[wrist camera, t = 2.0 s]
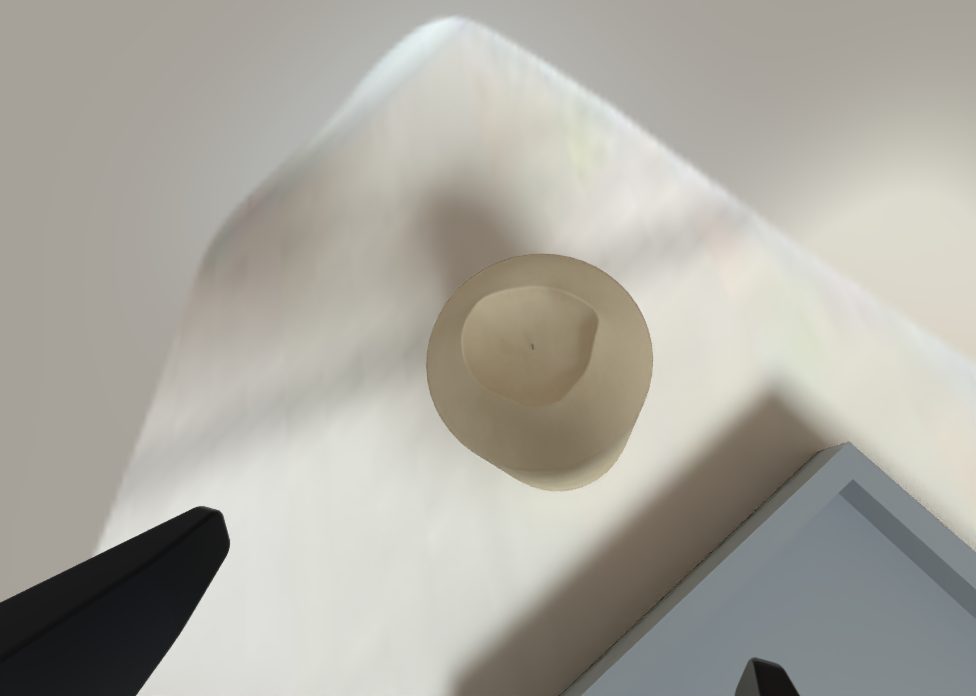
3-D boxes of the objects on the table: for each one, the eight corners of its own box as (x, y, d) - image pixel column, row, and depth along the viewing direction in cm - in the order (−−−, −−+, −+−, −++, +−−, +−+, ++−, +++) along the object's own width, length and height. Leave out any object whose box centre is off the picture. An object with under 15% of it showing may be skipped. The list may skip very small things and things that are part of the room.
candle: (609, 337, 22) (622, 199, 13) (646, 476, 20) (694, 434, 11) (475, 367, 23) (394, 256, 13) (499, 505, 21) (426, 488, 12)
